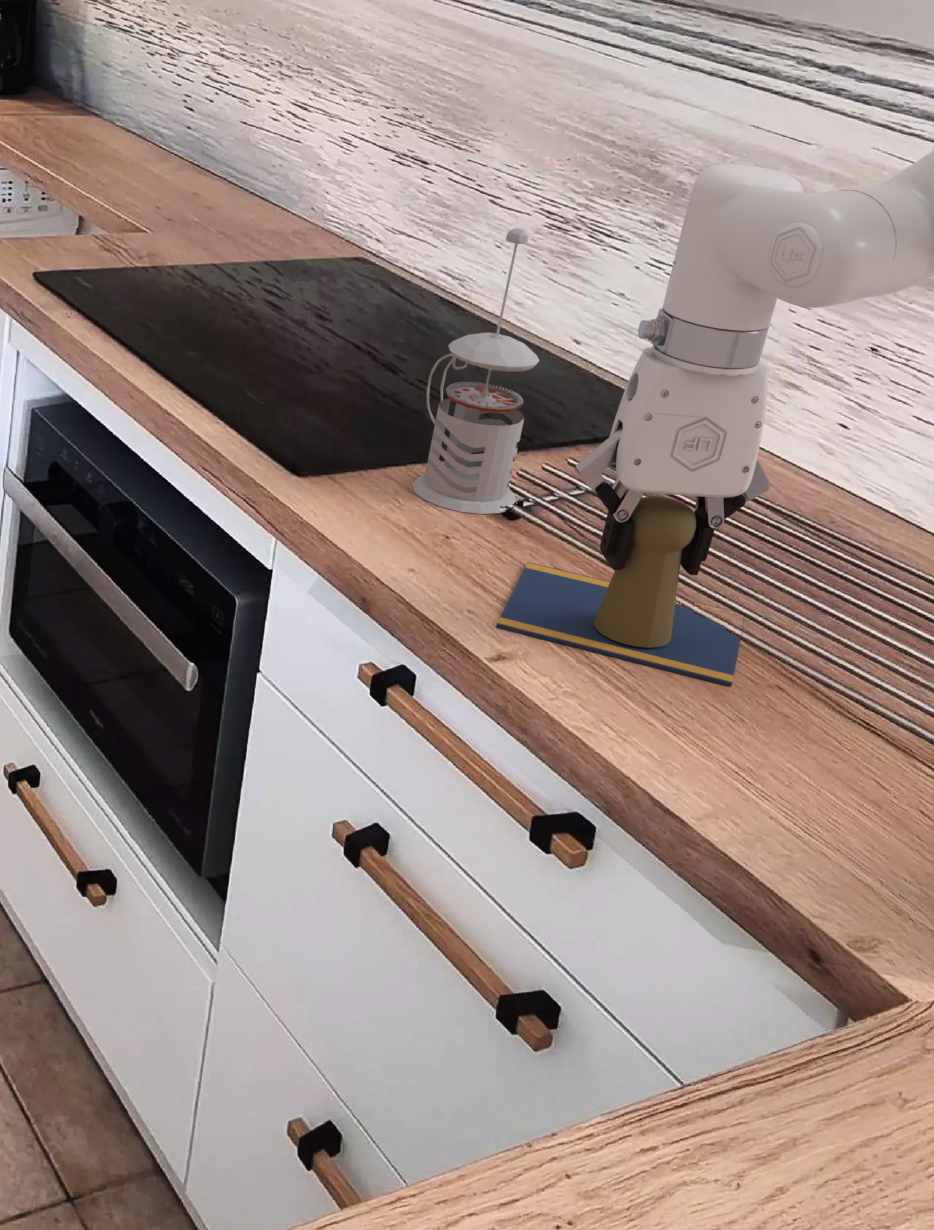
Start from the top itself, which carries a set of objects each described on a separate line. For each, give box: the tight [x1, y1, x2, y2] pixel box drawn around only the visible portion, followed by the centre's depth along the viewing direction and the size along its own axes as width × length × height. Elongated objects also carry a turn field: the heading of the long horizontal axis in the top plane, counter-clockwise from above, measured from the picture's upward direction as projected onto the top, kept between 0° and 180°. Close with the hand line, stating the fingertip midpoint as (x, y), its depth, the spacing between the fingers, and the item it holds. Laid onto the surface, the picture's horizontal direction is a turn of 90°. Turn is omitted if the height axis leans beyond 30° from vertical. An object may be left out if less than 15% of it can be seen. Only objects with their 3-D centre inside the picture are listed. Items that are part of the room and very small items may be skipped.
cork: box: [594, 495, 696, 648], centre depth 134 cm, size 6×6×11 cm
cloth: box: [495, 561, 741, 687], centre depth 139 cm, size 18×14×1 cm
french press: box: [411, 227, 540, 515], centre depth 157 cm, size 10×12×25 cm
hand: (649, 563), depth 134 cm, fingers closed on cork, 5 cm apart
